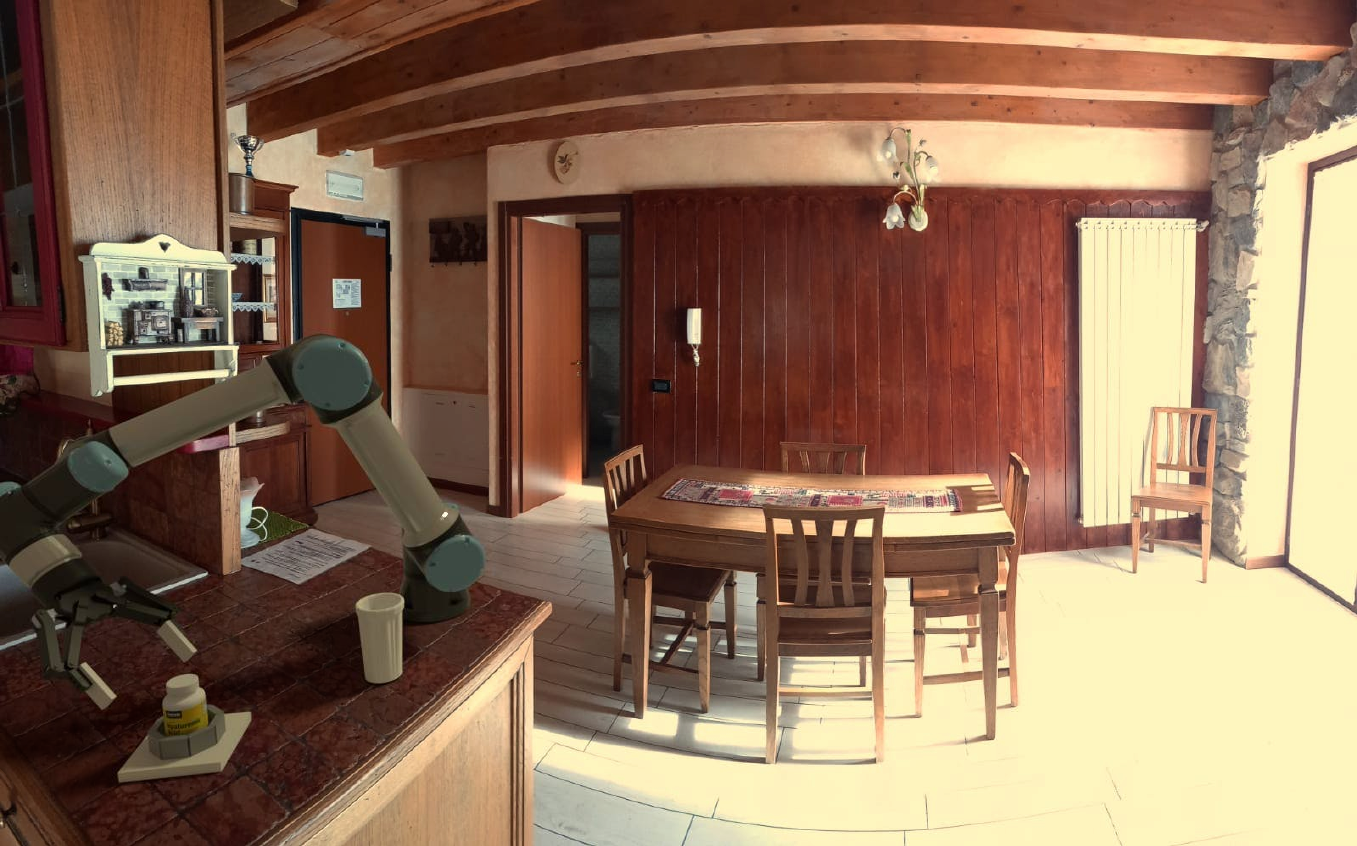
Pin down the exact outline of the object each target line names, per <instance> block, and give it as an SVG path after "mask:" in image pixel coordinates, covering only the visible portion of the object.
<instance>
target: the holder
mask: <svg viewBox="0 0 1357 846" xmlns="http://www.w3.org/2000/svg"><path fill="white" fill-rule="evenodd" d="M206 705H207V715H208V726H206V727H204V728H202V729H200V730H197V731H195V732H193V733H191V734H189V735H181V736H171V737H166V735H165V725H164V715H163V716H161V717H159V718H157V720H155V722H154V723H153V725H151V727H150V728H149V729H148V730H147V735H146V736H145V738H144V739H143V740H142V741H141V743H140V744H139V745H138V747H137V748H136V749H135V750H134V751H133V753H132V754H131V755H130V756H129V758H128V759H127V760H126V761H125V763H124V764H123V766H122V767H121V768H120V769H119V771H118V772H117V779H118V783H126V782H127V783H128V782H136V781H137V782H138V781H144V780H146V781H147V780H155V779H164V778H173V777H183V776H191V775H192V776H193V775H200V774H201V775H202V774H209V773H210V774H211V773H218V772H219V773H221V772H222V771H223V770H224V768H225V766H226V764H227V762H229V761H228V760H230V758H231V756H232V755H233V752H234V751H235V749H236V747H237V746H238V744H239V743H240V741H241V739H242V737H243V735H244V733H245V732H246V730H247V728H248V727H249V725H250V723H251V721H252V712H251V711H243V712H232V713H231V712H230V713H225V711H224V710H222V709H220V708H218V707H217V706H216V705H214V704H206Z"/></svg>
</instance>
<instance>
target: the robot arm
mask: <svg viewBox="0 0 1357 846" xmlns="http://www.w3.org/2000/svg"><path fill="white" fill-rule="evenodd" d="M383 396H384V391H383V390H382V388H381V386H380V384H379V383H378V381H377V380H376V378H375V376H374V375H373V373H372V368H371V366H370V362H369V361H368V359H367V357H366V356H365V355H364V353H363V352H362V351H361V350H360V348H358V347H357V346H355V344H353V343H352V342H349V341H347V340H345V339H342V338H339V337H337V336H335V335H331V334H325V333H315V334H311V335H307V336H304V337H303V338H300V339H298V340H297V341H294V342H292V343H291V344H289V345H287V346H286V347H283V348H281V349H279V350H277V351H275V352H273V353H271V354H269V355H266V356H264V357H262V359H261V362H260V364H258V365H257V366H254V367H252V368H250V369H248V370H245V371H243V372H240V373H238V374H236V375H233V376H232V377H229V378H226V379H224V380H222V381H219V382H217V383H214V384H212V385H209V386H207V387H205V388H202V389H200V390H198V391H195V392H193V393H191V394H188V395H186V396H184V397H181V398H178V399H176V400H174V401H172V402H169V403H167V404H165V405H161V406H160V407H157V408H155V409H152V410H150V411H148V412H146V413H143V414H141V415H138V416H136V417H133V418H131V419H129V420H126V421H124V422H121V423H119V424H116V425H113V426H112V427H110V428H108V429H105V430H103V431H100V432H98V433H95V434H93V435H88V436H87V435H86V436H81V437H78V438H77V439H74V440H73V441H71V442H69V443H68V444H67V445H66V446H65V447H64V448H63V449H62V451H61V453H60V456H59V457H58V458H57V459H56V460H55V462H54V464H52V465H51V466H50V467H48V468H47V469H46V470H44V471H43V472H41V473H40V474H38V475H37V476H36V477H34V478H33V479H31V480H30V481H29V482H26V483H25V484H23V485H20V484H18V483H17V482H13V481H4V482H0V559H1V560H2V561H3V563H5V564H6V566H7V567H8V568H9V569H10V570H11V571H12V572H13V573H14V574H15V576H16V577H17V578H18V579H19V580H20V581H21V582H22V583H23V585H25V586H26V588H30V593H31V594H32V595H33V596H34V597H35V598H36V599H37V600H38V601H39V603H40V604H41V605H42V606H43V608H47V610H46V609H43V608H40V609H37V611H36V612H35V614H34V615H33V616H32V618H30V619H29V622H28V624H29V625H30V627H31V629H32V630H33V631H34V634H35V636H36V642H37V647H38V648H37V649H38V654H39V661H40V668H41V669H40V670H41V674H42V678H43V680H45V681H51V680H52V679H54V678H57V680H58V681H64V680H67V681H68V683H70V684H71V685H72V686H73V688H74V689H75V690H76V691H77V692H79V693H80V694H83V693H86V694H87V695H88V696H89V697H90V698H91V700H92V701H93V702H94V704H96V705H97V706H98V707H99V708H100V710H103V711H104V710H105V709H106V708H107V707H108V706H109V705H111V703H112V702H113V701H114V700H115V699H116V698H117V695H116V694H115V693H114V691H112V689H110V687H109V686H108V685H107V684H106V683H105V682H104V681H103V679H102V678H101V677H100V676H99V675H98V674H97V673H96V672H95V671H94V670H93V669H92V668H91V666H90V665H89V664H88V663H87V662H86V661H85V662H82V663H81V664H80V665H79V658H80V651H81V645H82V644H81V643H82V638H83V637H82V636H83V630H84V628H87V627H89V626H91V625H92V624H94V623H96V622H100V621H103V620H104V619H106V618H107V617H109V618H117V617H118V618H122V619H126V620H130V621H134V622H138V623H141V624H144V625H148V626H153V627H158V629H157V631H156V633H157V634H158V635H159V636H160V638H162V640H163V641H164V642H165V643H166V644H167V645H168V646H169V648H171V650H172V651H173V652H174V653H175V655H176V656H177V657H178V658H180V660H181V661H182V662H183V663H186V662H188V661H189V660H190V659H191V658H192V656H193V655H195V654H196V653H197V651H198V650H197V649H196V647H195V646H194V645H193V644H192V643H191V642H190V641H189V640H188V639H187V637H185V636H186V635H187V633H186V632H185V630H184V629H183V627H181V626H180V624H179V623H178V622H177V621H176V620H175V617H176V615H177V614H178V613H179V612H180V610H181V607H180V606H179V605H178V604H176V603H174V602H171V601H169V600H168V599H165V598H163V597H161V596H160V595H158V594H155V593H153V592H151V591H149V590H147V589H145V588H143V587H140V586H139V585H137V584H135V583H134V582H133V581H132V580H131V579H130V578H128V577H127V576H125V575H122V576H120V577H119V578H118V579H117V580H116V581H115V582H113V583H111V584H107V583H105V582H104V581H103V580H102V578H101V575H100V572H99V571H98V570H97V569H96V568H95V567H94V566H93V565H92V564H91V563H90V562H89V561H88V559H86V558H84V557H83V553H82V552H81V551H80V549H78V548H77V547H76V545H75V544H73V542H71V540H70V539H69V538H68V537H67V536H66V535H65V534H64V533H63V531H61V530H60V528H59V526H60V525H62V524H64V522H66V521H68V520H69V519H70V518H71V517H73V516H74V515H76V514H77V513H79V512H80V511H81V510H83V509H85V508H86V507H87V506H88V505H89V506H90V504H91V503H93V502H94V501H96V500H98V499H99V498H101V497H102V496H103V495H105V494H106V493H108V492H111V491H113V490H114V489H115V487H116V486H118V484H120V483H122V481H124V480H126V478H127V477H128V475H129V470H131V469H134V468H135V467H137V466H139V465H142V464H143V463H147V462H148V461H151V460H153V459H156V458H157V457H160V456H162V455H164V454H167V453H169V452H171V451H173V450H176V449H178V448H180V447H183V446H186V445H187V444H190V443H192V442H194V441H196V440H199V439H200V438H203V437H206V436H208V435H210V434H212V433H215V432H216V431H219V430H222V429H224V428H226V427H228V426H230V425H232V424H235V423H237V422H239V421H241V420H243V419H246V418H249V417H251V416H253V415H256V414H257V413H259V412H262V411H265V410H267V409H269V408H271V407H274V406H276V405H278V404H280V403H281V404H288V405H291V404H294V403H296V402H298V401H302V400H305V401H306V403H307V404H308V405H309V408H310V409H311V410H312V412H313V413H314V414H315V416H316V417H317V419H318V421H320V423H321V425H322V426H324V427H327V428H328V427H330V428H333V429H335V430H337V432H338V434H339V435H340V436H341V438H342V440H343V441H344V443H345V444H346V446H347V447H348V449H349V450H350V452H351V453H352V454H353V456H354V457H355V459H356V461H357V462H358V463H359V465H360V466H361V468H362V470H363V471H364V472H365V474H366V476H367V477H368V478H369V480H370V481H371V482H372V484H373V485H374V487H375V489H376V490H377V491H378V493H379V495H380V496H381V498H382V499H383V500H384V502H385V503H386V505H387V507H388V508H389V510H390V512H391V513H392V514H393V515H394V517H395V519H396V520H397V522H398V523H399V525H400V526H401V542H402V544H401V545H402V559H403V560H402V561H403V579H402V582H401V584H400V589H399V592H398V594H399V595H401V596H402V597H403V598H404V608H403V610H402V620H406V621H408V622H415V623H434V622H435V623H436V622H440V621H446V620H450V619H454V618H456V617H458V616H460V615H462V614H463V613H465V612H467V610H468V609H469V608H470V606H471V595H470V592H469V589H468V588H469V587H470V586H471V585H473V584H474V583H475V582H476V581H477V580H478V579H479V578H480V576H481V575H482V573H483V571H484V568H485V566H486V562H487V561H486V560H487V559H486V558H487V557H486V551H485V548H484V546H483V544H482V542H481V541H480V540H479V539H477V538H476V537H475V536H474V535H473V533H472V532H471V530H470V528H469V527H468V525H467V524H466V521H464V519H463V517H462V516H461V513H460V512H459V506H458V505H457V504H456V503H452V502H443V500H441V498H440V497H439V495H438V493H437V491H436V490H435V488H434V487H433V485H432V483H431V482H430V480H429V479H428V478H427V475H426V474H425V472H424V471H423V470H422V468H421V466H420V465H419V463H418V461H417V460H416V458H415V457H414V455H413V453H412V451H411V450H410V448H409V447H408V446H407V444H406V442H405V441H404V439H403V437H402V436H401V434H400V433H399V431H398V430H397V428H396V426H395V425H394V423H393V422H392V420H391V418H390V417H389V415H388V413H387V412H386V411H385V409H384V407H383V405H382V399H383ZM114 605H115V606H114ZM56 620H57V621H60V622H64V623H65V626H64V632H63V636H64V640H63V645H62V646H63V647H62V653H60V648H59V642H58V636H57V635H58V634H57V631H56V624H55V621H56ZM78 665H79V666H78Z"/></svg>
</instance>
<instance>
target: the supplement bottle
mask: <svg viewBox="0 0 1357 846" xmlns="http://www.w3.org/2000/svg"><path fill="white" fill-rule="evenodd" d="M165 688H166V695H165V697H164V698H163V700H162V713H163V714H162V715H163V716H164V725H165V735H166V737H171V736H181V735H189V734H191V733H193V732H195V731H197V730H200V729H202V728H204V727H206V726H208V715H207V705H208V704H207V695H206V692H205V690H204V689H203V688H202V687H200V682H199V676H198V675H197V674H195V673H194V674H193V673H186V674H180V675H177V676H174V677H172V678H170V679H169V680H167V682H166V683H165Z"/></svg>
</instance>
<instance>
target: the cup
mask: <svg viewBox="0 0 1357 846" xmlns="http://www.w3.org/2000/svg"><path fill="white" fill-rule="evenodd" d="M403 608H404V598H403V597H402V596H401V595H399V593H395V592H379V593H373V594H370V595H366V596H364V597H362V598H360V599H359V600H358V601H357V602H356V603H355V612H356V615H357V618H358V627H359V638H360V643H361V652H362V662H363V663H362V664H363V670H364V680H366V681H367V682H368V683H372V684H385V683H389V682H392V681H395V680H396V679H398V678H399V677H400V676H401V675H402V674H403V618H402V610H403Z"/></svg>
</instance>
